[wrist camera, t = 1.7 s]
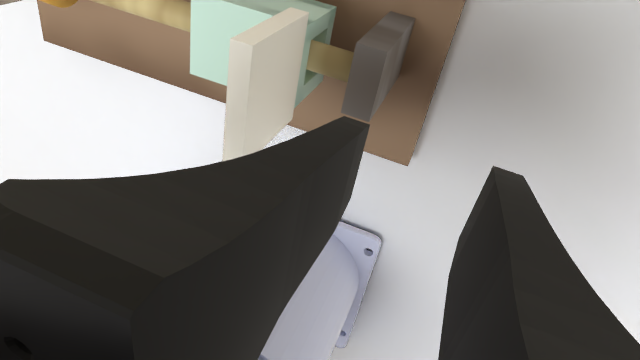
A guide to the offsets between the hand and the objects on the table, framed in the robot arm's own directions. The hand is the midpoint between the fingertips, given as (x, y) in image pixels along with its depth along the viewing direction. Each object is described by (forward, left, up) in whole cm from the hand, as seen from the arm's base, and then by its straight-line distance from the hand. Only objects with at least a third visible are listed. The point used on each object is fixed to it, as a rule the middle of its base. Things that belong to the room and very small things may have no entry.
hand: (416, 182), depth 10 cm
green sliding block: (0, +7, -7) cm, 10 cm away
